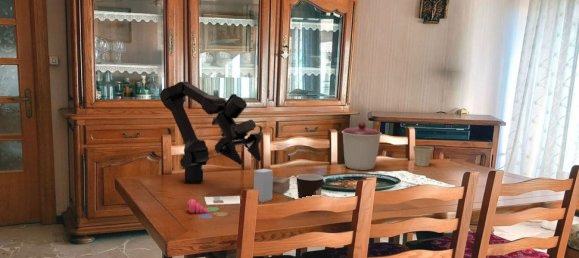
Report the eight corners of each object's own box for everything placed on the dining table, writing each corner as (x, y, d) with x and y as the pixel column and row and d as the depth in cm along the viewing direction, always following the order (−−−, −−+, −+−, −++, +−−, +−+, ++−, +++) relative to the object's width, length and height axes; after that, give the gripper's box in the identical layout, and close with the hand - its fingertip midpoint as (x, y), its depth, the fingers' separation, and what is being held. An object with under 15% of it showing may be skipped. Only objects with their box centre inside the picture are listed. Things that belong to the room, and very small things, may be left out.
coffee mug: (303, 212, 153) (304, 181, 152) (290, 205, 161) (291, 175, 160) (335, 208, 159) (336, 178, 157) (321, 201, 166) (322, 172, 165)
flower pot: (434, 167, 231) (435, 149, 230) (414, 167, 231) (415, 148, 230) (429, 163, 240) (430, 146, 239) (409, 163, 240) (410, 145, 239)
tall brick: (253, 199, 166) (254, 170, 165) (263, 197, 170) (264, 168, 168) (262, 202, 163) (263, 172, 162) (272, 199, 167) (273, 170, 166)
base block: (262, 191, 177) (262, 180, 176) (268, 186, 185) (269, 176, 184) (283, 193, 175) (283, 182, 174) (289, 188, 183) (289, 178, 182)
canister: (351, 162, 237) (353, 118, 234) (386, 168, 226) (389, 122, 224) (332, 168, 222) (334, 121, 220) (368, 174, 212) (371, 125, 209)
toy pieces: (190, 220, 143) (191, 206, 142) (185, 209, 153) (185, 196, 152) (231, 217, 147) (231, 203, 146) (223, 207, 157) (224, 194, 157)
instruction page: (206, 205, 158) (206, 204, 158) (204, 197, 167) (204, 196, 167) (243, 203, 161) (243, 203, 161) (239, 196, 170) (239, 195, 169)
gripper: (220, 113, 162) (244, 151, 157) (259, 110, 177) (281, 144, 172) (204, 134, 168) (226, 171, 163) (242, 130, 183) (264, 163, 177)
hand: (251, 162), depth 169 cm, fingers open, 9 cm apart
